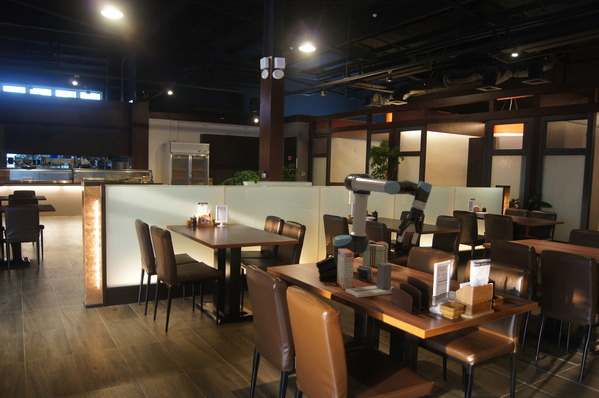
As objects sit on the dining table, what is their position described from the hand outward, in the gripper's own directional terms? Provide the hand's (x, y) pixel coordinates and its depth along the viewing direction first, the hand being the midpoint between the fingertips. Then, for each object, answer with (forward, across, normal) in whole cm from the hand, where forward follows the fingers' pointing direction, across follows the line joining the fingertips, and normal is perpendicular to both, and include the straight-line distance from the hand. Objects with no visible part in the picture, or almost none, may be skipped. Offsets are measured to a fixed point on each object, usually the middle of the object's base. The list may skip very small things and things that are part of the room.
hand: (406, 242), depth 253 cm
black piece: (+36, -28, +25) cm, 52 cm away
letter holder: (+24, -28, -34) cm, 50 cm away
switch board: (+29, -23, -6) cm, 37 cm away
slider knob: (+25, -17, -7) cm, 31 cm away
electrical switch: (+31, -8, +14) cm, 35 cm away
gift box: (+30, +33, +43) cm, 62 cm away
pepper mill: (+14, +22, -40) cm, 48 cm away
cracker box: (+33, -28, +11) cm, 45 cm away
